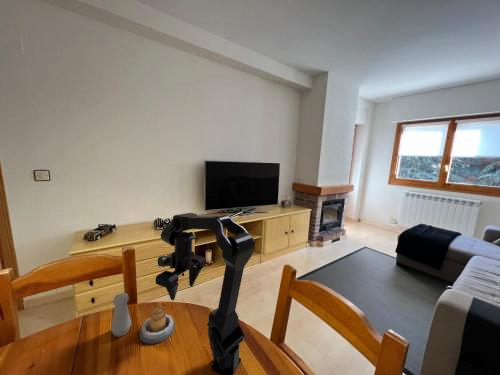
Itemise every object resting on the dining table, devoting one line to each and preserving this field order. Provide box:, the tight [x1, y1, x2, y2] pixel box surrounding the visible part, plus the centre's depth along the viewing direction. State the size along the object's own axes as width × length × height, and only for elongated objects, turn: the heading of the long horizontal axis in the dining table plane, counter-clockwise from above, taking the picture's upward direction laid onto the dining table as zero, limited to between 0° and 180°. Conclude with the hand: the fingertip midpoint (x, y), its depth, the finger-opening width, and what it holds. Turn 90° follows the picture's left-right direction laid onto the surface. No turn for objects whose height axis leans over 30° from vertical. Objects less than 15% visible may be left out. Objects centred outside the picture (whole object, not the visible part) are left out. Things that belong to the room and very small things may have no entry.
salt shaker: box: [110, 292, 132, 338], centre depth 70 cm, size 6×6×13 cm
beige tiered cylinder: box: [149, 306, 166, 333], centre depth 72 cm, size 5×5×7 cm
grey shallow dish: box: [139, 313, 176, 345], centre depth 72 cm, size 11×11×2 cm
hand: (182, 292), depth 74 cm, fingers open, 9 cm apart
